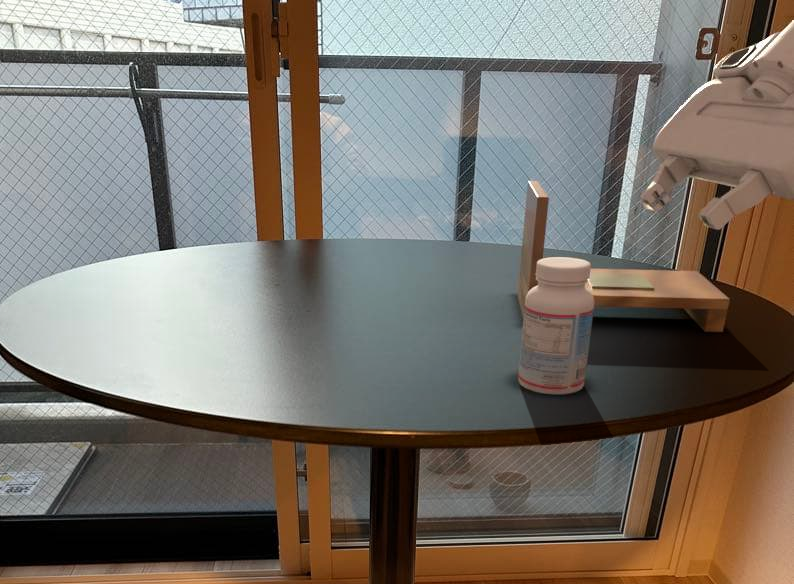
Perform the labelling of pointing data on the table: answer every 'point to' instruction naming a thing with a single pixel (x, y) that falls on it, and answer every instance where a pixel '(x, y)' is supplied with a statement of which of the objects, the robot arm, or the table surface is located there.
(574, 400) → the table surface
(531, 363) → the pill bottle
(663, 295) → the shelf
